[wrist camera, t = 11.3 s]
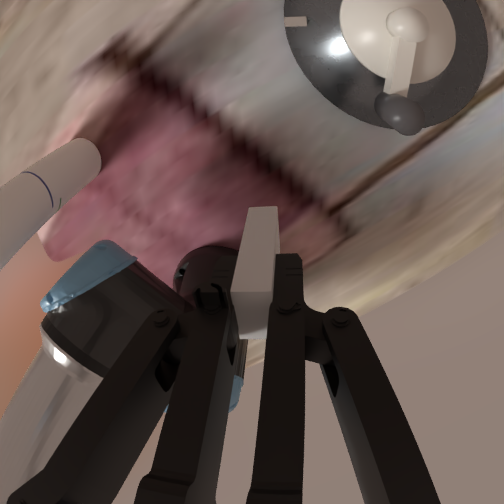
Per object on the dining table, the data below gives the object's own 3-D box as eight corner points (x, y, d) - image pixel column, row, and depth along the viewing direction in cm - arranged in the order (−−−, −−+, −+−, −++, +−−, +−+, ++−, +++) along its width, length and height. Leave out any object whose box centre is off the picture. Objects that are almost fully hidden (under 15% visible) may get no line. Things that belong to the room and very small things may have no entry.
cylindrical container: (100, 138, 40) (-26, 233, 19) (103, 182, 44) (-2, 293, 24) (62, 137, 40) (-60, 224, 19) (67, 179, 44) (-38, 278, 24)
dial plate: (476, 133, 33) (484, 138, 31) (293, 125, 37) (293, 129, 35) (470, -39, 18) (478, -42, 17) (272, -66, 22) (271, -72, 20)
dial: (344, -41, 22) (359, -61, 16) (456, -3, 21) (489, -8, 15) (325, 105, 33) (335, 119, 27) (432, 132, 33) (461, 152, 26)
